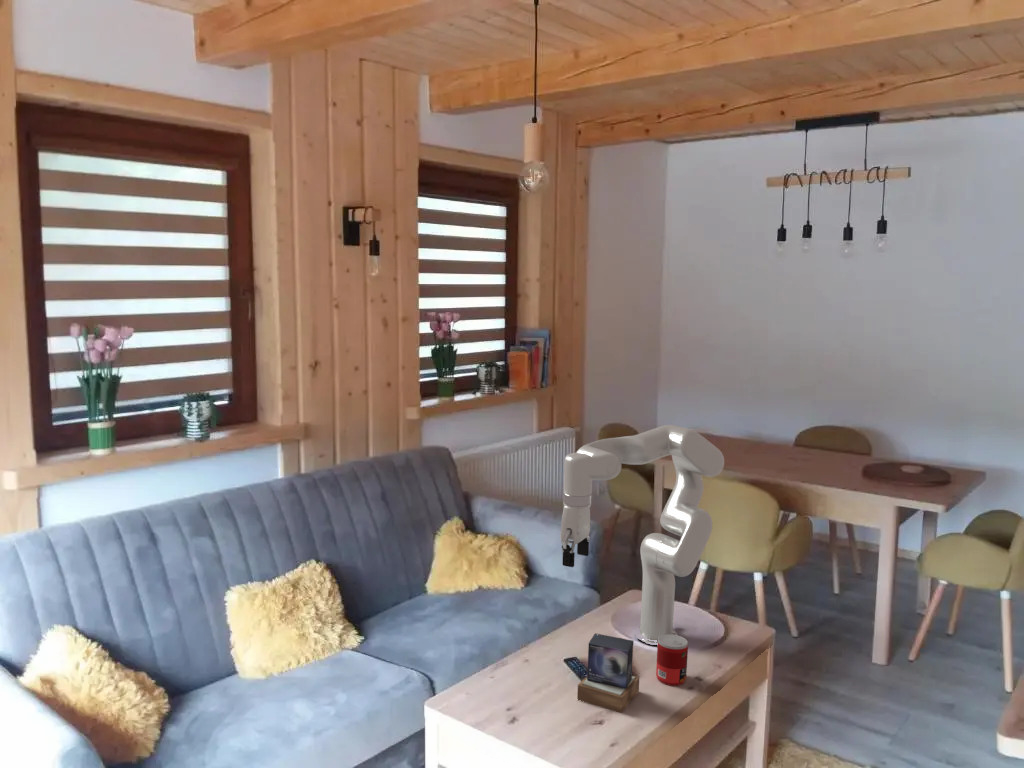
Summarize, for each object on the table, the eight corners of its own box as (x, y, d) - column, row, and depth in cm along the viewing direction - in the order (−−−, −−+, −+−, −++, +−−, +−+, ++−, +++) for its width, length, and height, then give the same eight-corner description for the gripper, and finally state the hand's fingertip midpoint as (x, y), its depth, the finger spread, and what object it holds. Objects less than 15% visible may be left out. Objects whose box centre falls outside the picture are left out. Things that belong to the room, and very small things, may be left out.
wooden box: (596, 679, 225) (596, 664, 224) (638, 691, 219) (639, 676, 218) (577, 699, 214) (577, 684, 214) (621, 712, 209) (622, 696, 208)
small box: (585, 681, 215) (587, 642, 214) (592, 670, 221) (594, 632, 220) (626, 689, 211) (628, 650, 210) (632, 678, 217) (634, 639, 216)
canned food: (686, 687, 222) (688, 648, 220) (655, 684, 223) (657, 645, 222) (686, 674, 229) (688, 635, 228) (656, 670, 231) (658, 632, 229)
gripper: (577, 489, 235) (575, 548, 238) (551, 505, 220) (549, 568, 223) (602, 493, 232) (600, 553, 235) (577, 509, 217) (575, 573, 219)
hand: (575, 560), depth 229 cm, fingers open, 9 cm apart
